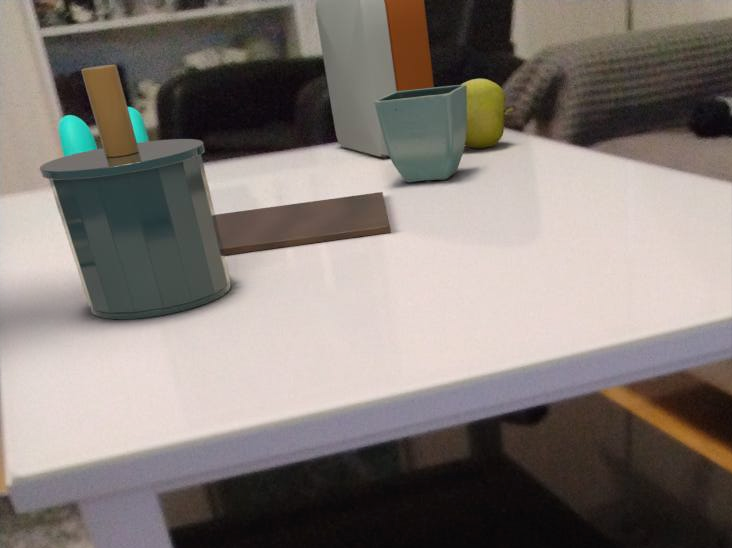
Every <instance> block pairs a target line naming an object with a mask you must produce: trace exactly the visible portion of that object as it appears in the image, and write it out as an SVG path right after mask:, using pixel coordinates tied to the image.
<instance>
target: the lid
mask: <svg viewBox="0 0 732 548" xmlns="http://www.w3.org/2000/svg"><path fill="white" fill-rule="evenodd" d="M80 71H81V75H82V79H83V82H84V85H85V89H86V92H87V93H86V94H87V96H88V97H87V98H88V100H89V103H90V107H91V111H92V114H93V117H94V121H95V125H96V128H97V132H98V135H99V139H100V142H101V146H102V147H100V148H98V149H96V150H91V151H86V152H82V153H77V154H73V155H69V156H65V157H64V156H62V157H58V158H55V159H52V160H50V161H47V162H45V163H43V164H41V165H39V172H40V175H41V177H42V178H44V179H47V180H49V179H55V180H71V179H86V178H96V177H104V176H112V175H119V174H126V173H132V172H138V171H143V170H148V169H153V168H158V167H162V166H167V165H171V164H175V163H178V162H182V161H185V160H189V159H191V158H194V157H197V156H199V155H201V156H202V155H203V154H204V153H205V152H206V147H205V143H204V142H203V140H200V139H194V138H171V139H158V140H149V141H148V142H140V143H137V141H136V137H135V133H134V130H133V126H132V122H131V118H130V115H129V111H128V107H129V106H128V104H127V100H126V96H125V93H124V88H123V85H122V81H121V78H120V74H119V70H118V66H117V64H104V65H103V64H102V65H95V66H89V67H84V68H82V69H81V70H80Z"/></svg>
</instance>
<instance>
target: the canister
mask: <svg viewBox="0 0 732 548" xmlns="http://www.w3.org/2000/svg"><path fill="white" fill-rule="evenodd" d="M48 182H49V185H50V188H51V192H52V194H53V197H54V200H55V204H56V207H57V210H58V213H59V216H60V219H61V222H62V226H63V229H64V232H65V235H66V238H67V240H68V244H69V248H70V251H71V254H72V257H73V261H74V264H75V267H76V271H77V273H78V277H79V280H80V283H81V286H82V289H83V292H84V295H85V298H86V303H87V305H88V306H89V308H90V311H91V313H92V314H93V315H94V316H96V317H99V318H102V319H107V320H108V319H109V320H137V319H147V318H155V317H160V316H165V315H171V314H176V313H180V312H185V311H189V310H191V309H196V308H198V307H201V306H204V305H206V304H209V303H211V302H213V301H216V300H219V298H221V297H223V296H225V295H226V294H227V293H228V292H229V291H231V290H230V289H231V285H232V284H231V275H230V272H229V268H228V263H227V259H226V255H225V254H224V250H223V246H222V242H221V237H220V233H219V229H218V225H217V220H216V216H215V215H216V212H215V208H214V203H213V200H212V194H211V192H210V187H209V182H208V179H207V173H206V171H205V165H204V161H203V157H202V154H201V155H199V156H197V157H194V158H191V159H189V160H185V161H182V162H178V163H175V164H171V165H167V166H162V167H158V168H153V169H148V170H143V171H138V172H132V173H126V174H119V175H112V176H104V177H96V178H86V179H71V180H55V179H48Z"/></svg>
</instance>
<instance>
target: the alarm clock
mask: <svg viewBox="0 0 732 548" xmlns="http://www.w3.org/2000/svg"><path fill="white" fill-rule="evenodd" d="M315 16H316V21H317V28H318V35H319V40H320V41H319V42H320V46H321V53H322V57H323V65H324V70H325V76H326V82H327V89H328V95H329V100H330V108H331V114H332V120H333V125H334V132H335V136H336V139H337V142H338V144H339V146H340V147H343V148H345V149H350V150H353V151H357V152H361V153H365V154H367V155H368V154H369V155H372V156H376V157H379V158H383V159H385V158H390V157H389V154H388V152H387V149H386V146H385V143H384V139H383V135H382V132H381V128H380V124H379V120H378V116H377V112H376V108H375V104H374V101H376V100H378V99H380V98H382V97H384V96H387V95H389V94H391V93H393V92H398V91H406V90H416V89H426V88H435V86H434V85H435V83H434V77H433V67H432V59H431V49H430V43H429V32H428V25H427V15H426V6H425V0H316V1H315Z"/></svg>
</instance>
